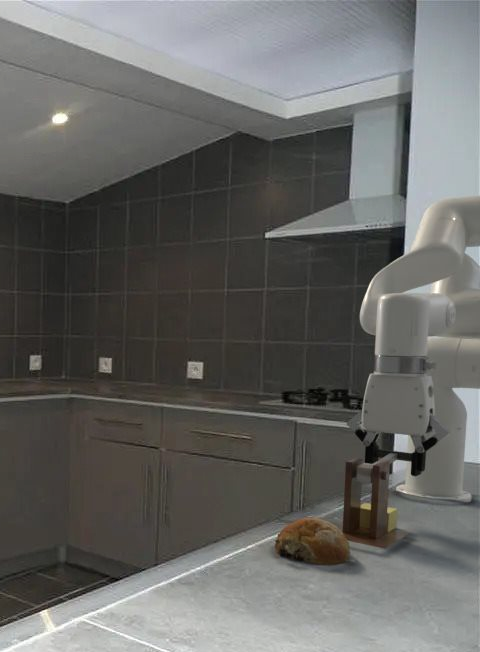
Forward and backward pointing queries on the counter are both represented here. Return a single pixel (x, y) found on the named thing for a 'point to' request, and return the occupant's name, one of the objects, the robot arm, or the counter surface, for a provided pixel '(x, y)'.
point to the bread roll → (313, 542)
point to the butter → (366, 511)
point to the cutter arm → (387, 456)
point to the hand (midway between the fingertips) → (393, 470)
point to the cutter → (378, 507)
